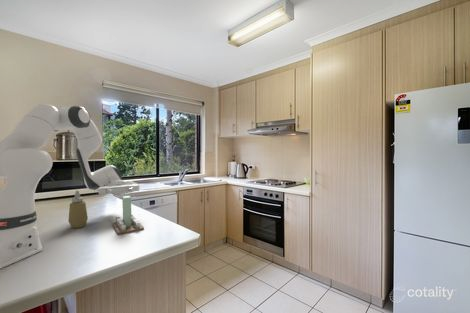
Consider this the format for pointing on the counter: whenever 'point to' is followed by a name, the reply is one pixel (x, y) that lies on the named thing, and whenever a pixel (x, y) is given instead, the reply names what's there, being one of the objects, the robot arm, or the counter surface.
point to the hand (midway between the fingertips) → (121, 190)
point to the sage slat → (127, 211)
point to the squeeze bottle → (77, 212)
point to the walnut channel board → (122, 229)
